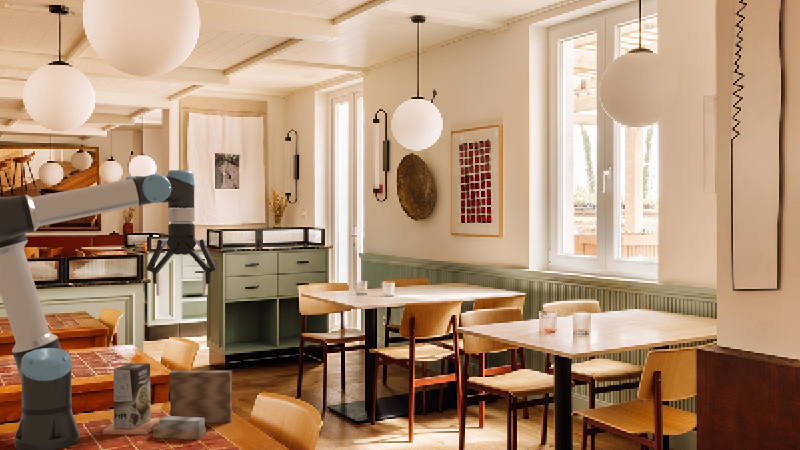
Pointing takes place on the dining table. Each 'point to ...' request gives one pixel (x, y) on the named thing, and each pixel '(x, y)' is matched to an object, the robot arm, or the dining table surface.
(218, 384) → the brown rectangular wooden panel
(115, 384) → the coffee box
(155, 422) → the terracotta tile
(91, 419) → the dining table surface
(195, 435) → the offcut stack
